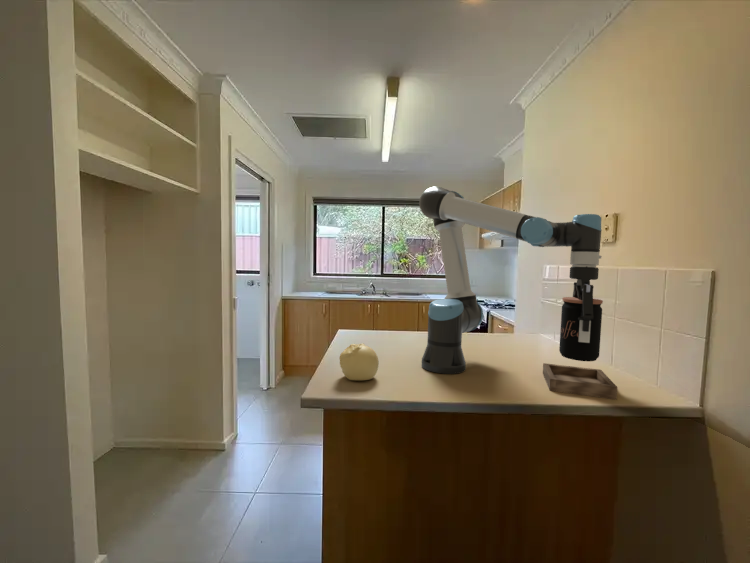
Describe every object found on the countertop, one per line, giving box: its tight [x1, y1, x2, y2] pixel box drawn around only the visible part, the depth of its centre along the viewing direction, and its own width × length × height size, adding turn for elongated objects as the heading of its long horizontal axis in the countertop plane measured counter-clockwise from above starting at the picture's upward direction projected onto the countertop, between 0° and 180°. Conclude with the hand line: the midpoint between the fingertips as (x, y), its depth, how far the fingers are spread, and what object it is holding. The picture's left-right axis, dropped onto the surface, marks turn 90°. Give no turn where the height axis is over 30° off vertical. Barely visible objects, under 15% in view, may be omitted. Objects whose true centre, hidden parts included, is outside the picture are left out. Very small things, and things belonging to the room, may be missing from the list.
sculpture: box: [339, 343, 379, 381], centre depth 111 cm, size 11×12×11 cm
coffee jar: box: [558, 296, 604, 362], centre depth 109 cm, size 11×11×18 cm
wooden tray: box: [542, 362, 618, 400], centre depth 111 cm, size 17×17×4 cm
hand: (579, 338), depth 110 cm, fingers closed on coffee jar, 11 cm apart
